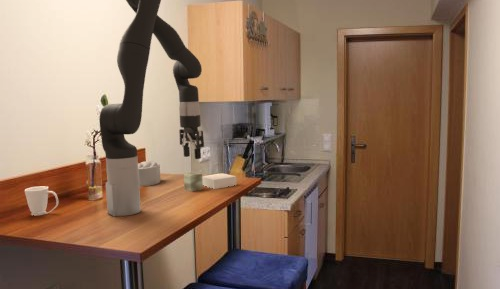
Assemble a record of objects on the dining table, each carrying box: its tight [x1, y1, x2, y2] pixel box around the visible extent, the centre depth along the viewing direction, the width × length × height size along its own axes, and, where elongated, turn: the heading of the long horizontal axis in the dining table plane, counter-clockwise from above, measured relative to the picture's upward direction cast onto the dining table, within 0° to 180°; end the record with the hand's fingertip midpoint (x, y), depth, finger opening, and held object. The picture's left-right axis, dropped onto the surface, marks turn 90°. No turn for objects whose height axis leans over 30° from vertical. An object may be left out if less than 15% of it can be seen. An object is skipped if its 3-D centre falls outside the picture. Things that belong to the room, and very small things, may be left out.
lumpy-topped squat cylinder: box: [138, 160, 162, 187], centre depth 184 cm, size 10×13×9 cm
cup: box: [24, 185, 59, 217], centre depth 139 cm, size 7×10×8 cm
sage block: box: [183, 171, 204, 192], centre depth 168 cm, size 5×5×6 cm
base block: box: [202, 172, 237, 190], centre depth 175 cm, size 10×10×4 cm
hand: (192, 157), depth 167 cm, fingers open, 8 cm apart
